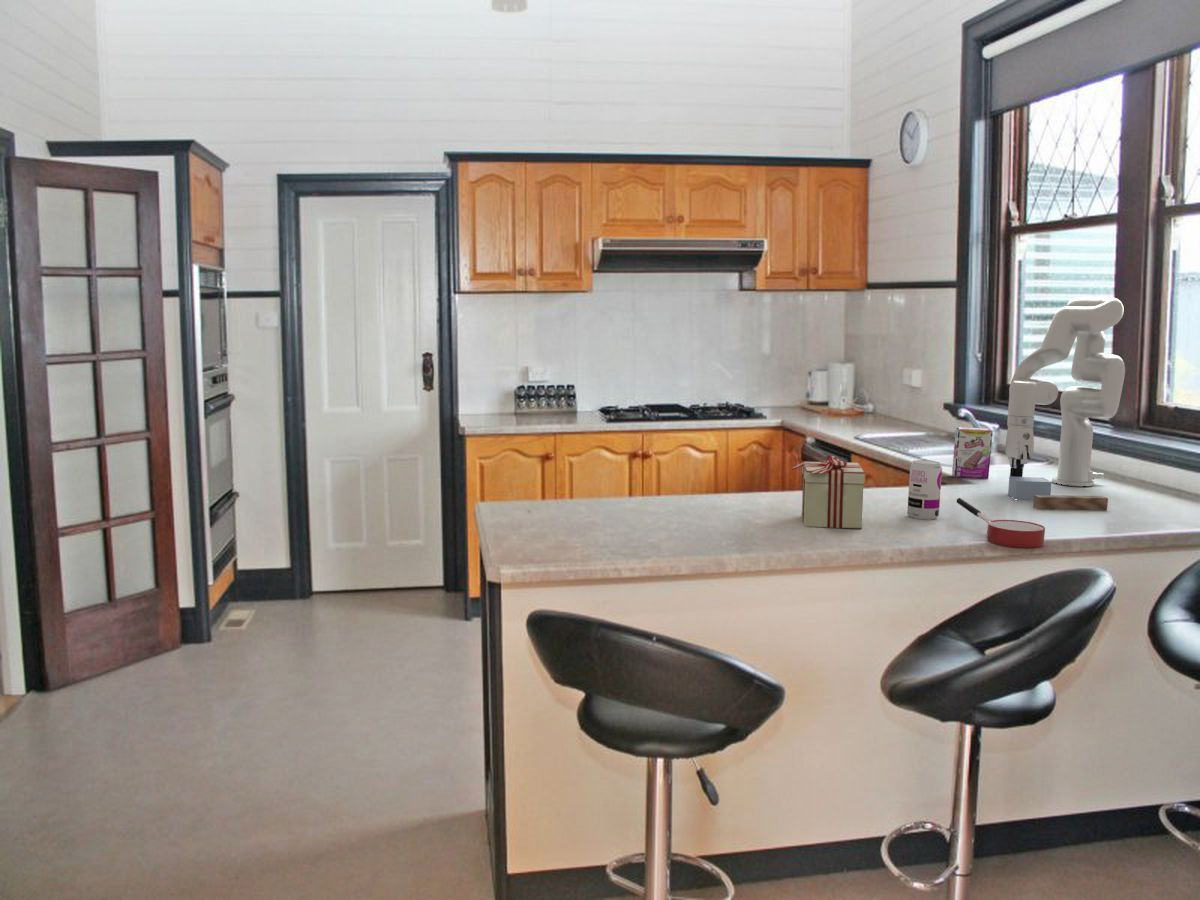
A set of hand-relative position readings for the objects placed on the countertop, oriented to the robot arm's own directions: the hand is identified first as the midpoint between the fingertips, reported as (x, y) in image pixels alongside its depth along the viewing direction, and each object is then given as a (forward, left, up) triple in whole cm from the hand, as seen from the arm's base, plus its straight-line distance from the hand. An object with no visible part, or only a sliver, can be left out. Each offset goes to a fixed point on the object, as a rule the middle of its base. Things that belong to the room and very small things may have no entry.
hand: (1015, 480), depth 336 cm
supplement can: (+43, +39, -4) cm, 58 cm away
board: (-5, +25, -4) cm, 26 cm away
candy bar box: (+3, -28, -4) cm, 28 cm away
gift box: (+72, +48, -4) cm, 87 cm away
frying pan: (+33, +60, -4) cm, 68 cm away
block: (0, +9, -4) cm, 10 cm away
